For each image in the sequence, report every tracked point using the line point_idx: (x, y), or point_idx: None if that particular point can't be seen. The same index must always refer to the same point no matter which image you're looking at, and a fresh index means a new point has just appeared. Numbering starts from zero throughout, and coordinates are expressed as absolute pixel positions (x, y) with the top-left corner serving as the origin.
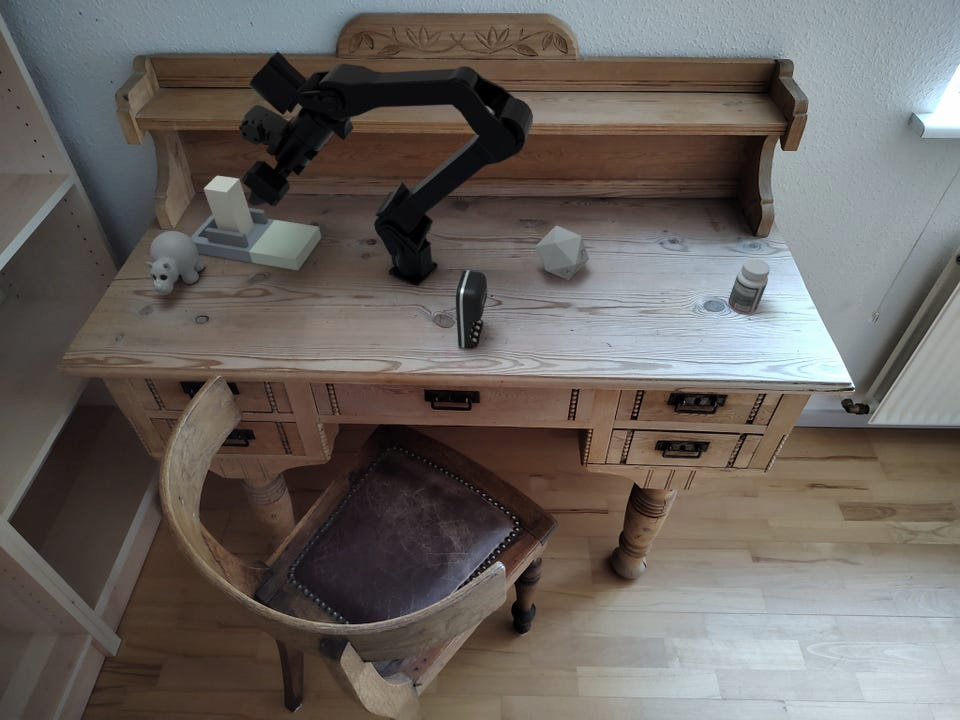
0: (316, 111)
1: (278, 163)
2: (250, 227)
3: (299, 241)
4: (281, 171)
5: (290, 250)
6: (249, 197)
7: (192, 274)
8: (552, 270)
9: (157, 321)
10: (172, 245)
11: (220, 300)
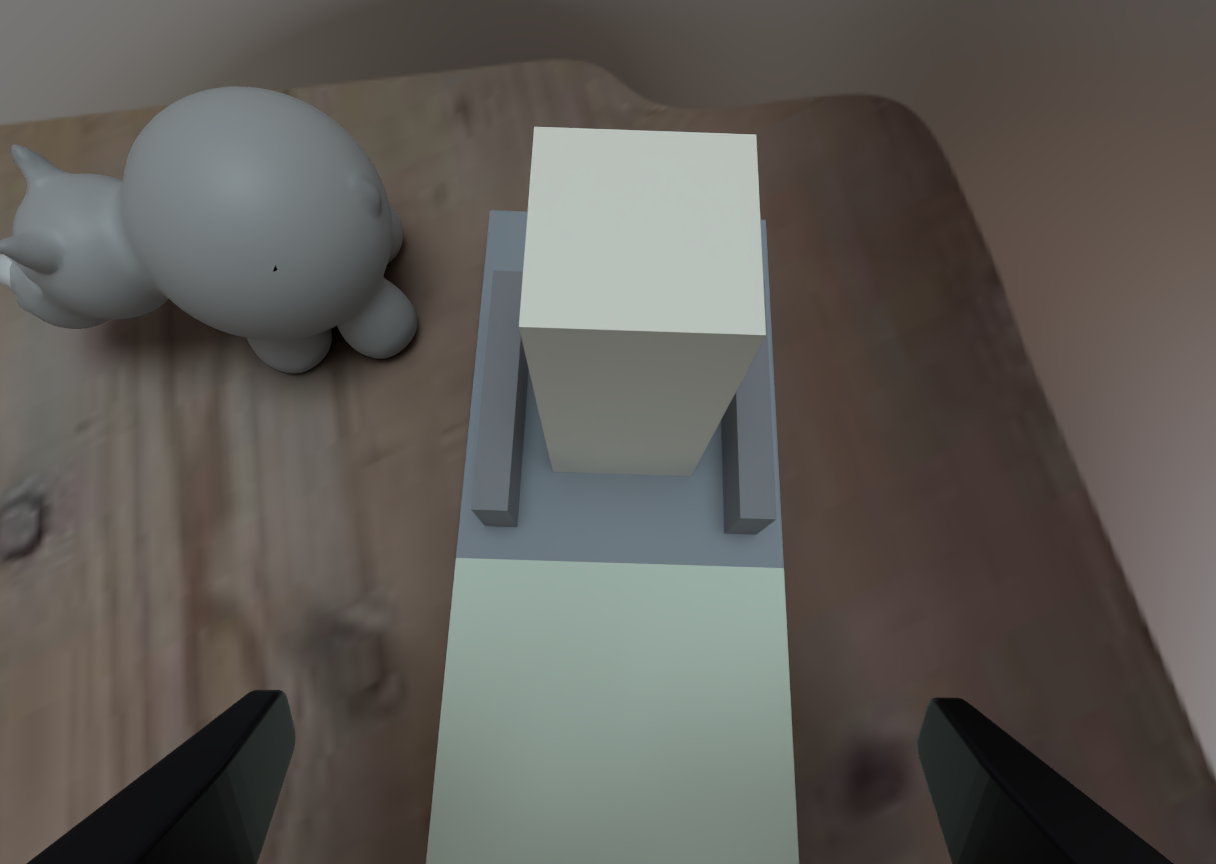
0: None
1: (1045, 855)
2: (656, 471)
3: (613, 840)
4: (969, 842)
5: (509, 821)
6: (156, 766)
7: (262, 349)
8: None
9: (13, 340)
10: (149, 205)
11: (161, 546)
